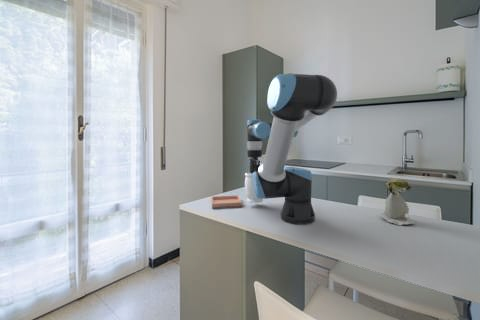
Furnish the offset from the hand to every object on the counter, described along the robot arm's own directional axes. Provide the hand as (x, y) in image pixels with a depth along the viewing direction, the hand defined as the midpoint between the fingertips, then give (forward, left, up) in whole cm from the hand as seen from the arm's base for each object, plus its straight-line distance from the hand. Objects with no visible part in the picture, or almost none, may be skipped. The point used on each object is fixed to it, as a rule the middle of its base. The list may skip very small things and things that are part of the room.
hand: (254, 191), depth 132 cm
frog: (-33, -57, -8) cm, 66 cm away
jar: (0, 0, -6) cm, 6 cm away
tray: (+6, +15, -8) cm, 18 cm away
